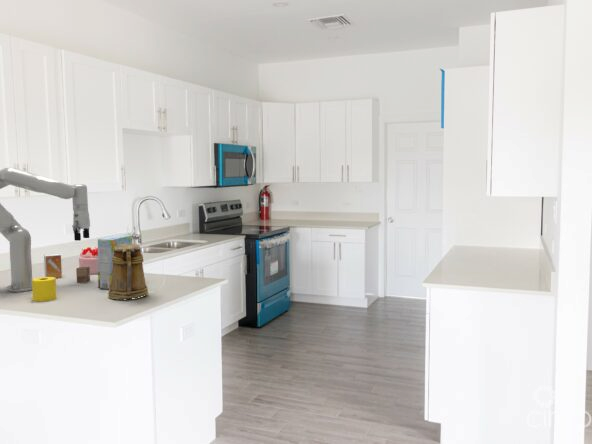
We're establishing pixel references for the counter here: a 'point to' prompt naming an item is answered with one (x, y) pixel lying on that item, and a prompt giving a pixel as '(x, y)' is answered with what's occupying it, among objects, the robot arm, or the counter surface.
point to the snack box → (108, 257)
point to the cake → (89, 259)
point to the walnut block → (83, 274)
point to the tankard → (127, 273)
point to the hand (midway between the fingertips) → (82, 239)
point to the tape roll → (44, 288)
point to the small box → (53, 265)
